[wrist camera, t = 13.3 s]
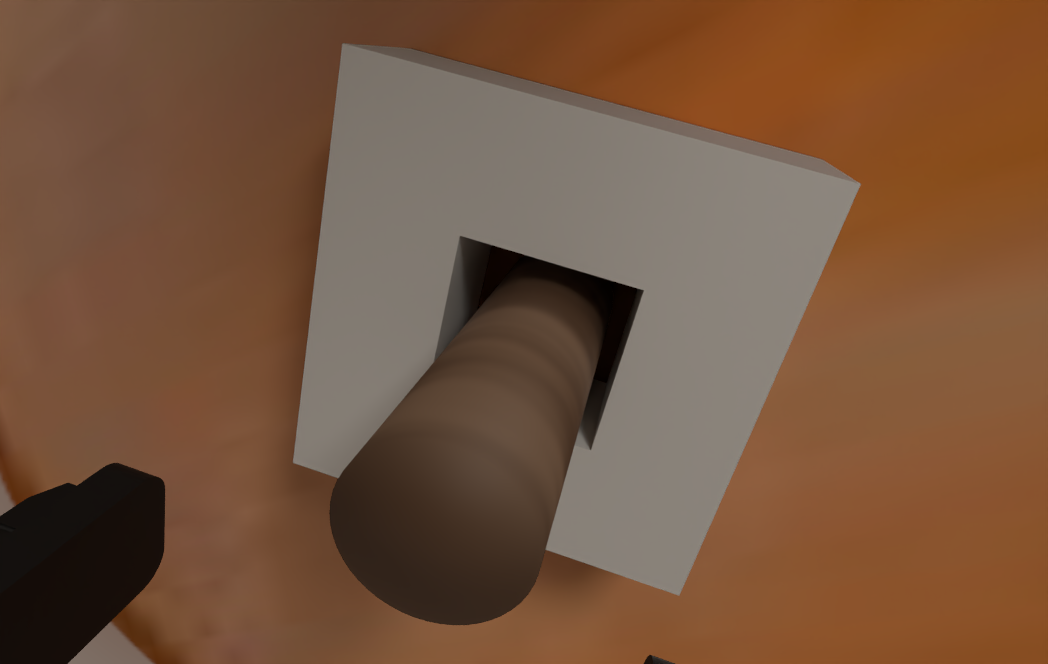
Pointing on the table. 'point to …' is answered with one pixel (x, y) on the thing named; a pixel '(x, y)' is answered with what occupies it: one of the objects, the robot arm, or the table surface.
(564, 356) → the walnut peg
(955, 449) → the table surface
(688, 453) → the block
